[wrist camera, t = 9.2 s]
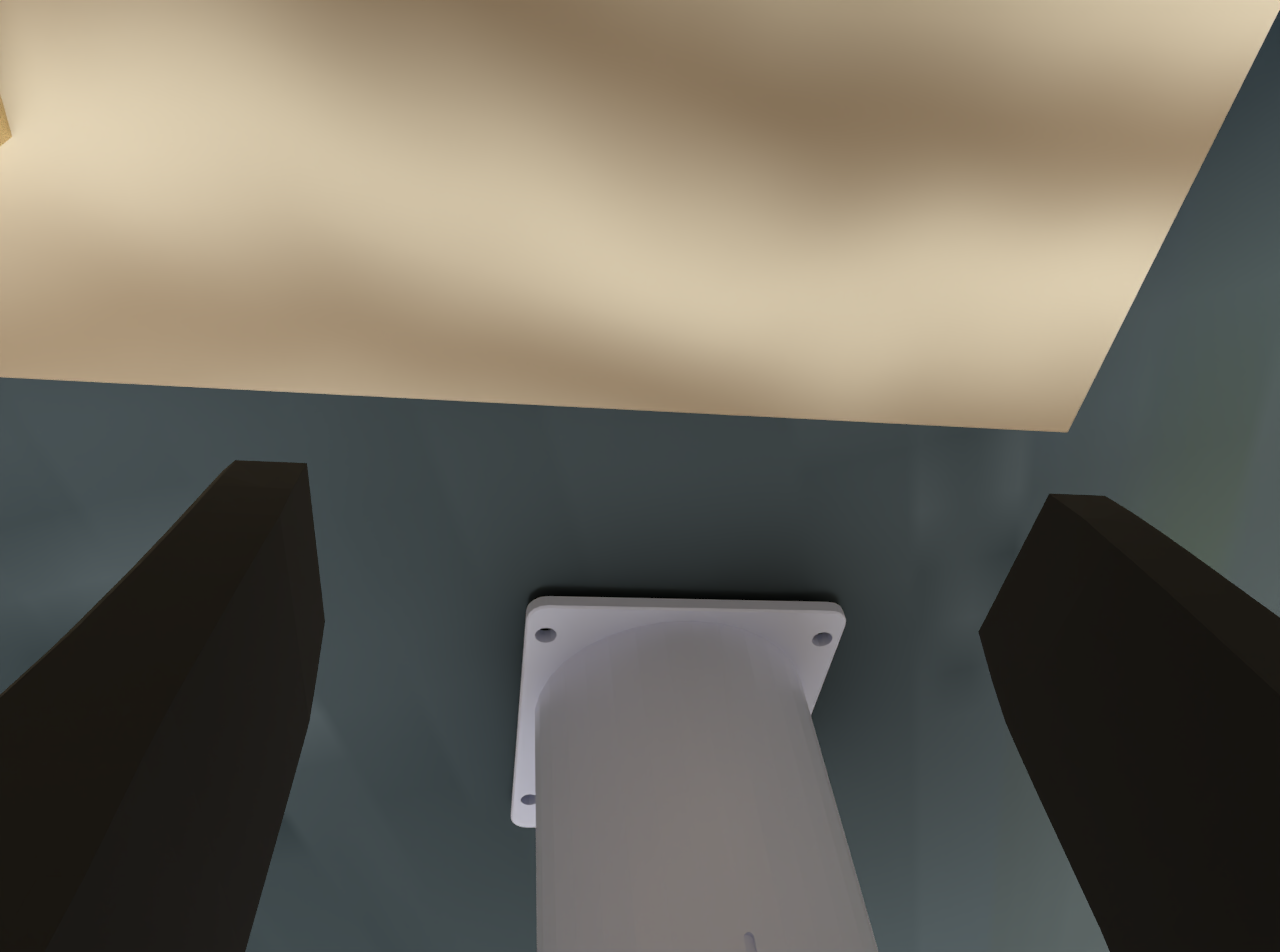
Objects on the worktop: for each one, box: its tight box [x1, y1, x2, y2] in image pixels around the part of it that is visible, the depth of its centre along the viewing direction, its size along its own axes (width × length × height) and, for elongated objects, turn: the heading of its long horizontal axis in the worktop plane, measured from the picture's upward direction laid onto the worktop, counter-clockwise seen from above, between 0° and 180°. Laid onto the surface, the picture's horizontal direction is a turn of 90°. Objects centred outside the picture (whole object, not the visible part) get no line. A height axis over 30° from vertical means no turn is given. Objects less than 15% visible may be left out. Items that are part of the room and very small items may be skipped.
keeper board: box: [0, 0, 1280, 432], centre depth 12 cm, size 14×28×4 cm, turn 83°
